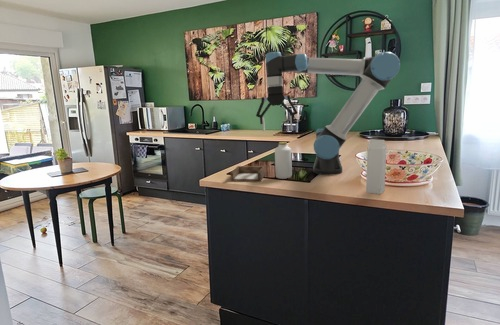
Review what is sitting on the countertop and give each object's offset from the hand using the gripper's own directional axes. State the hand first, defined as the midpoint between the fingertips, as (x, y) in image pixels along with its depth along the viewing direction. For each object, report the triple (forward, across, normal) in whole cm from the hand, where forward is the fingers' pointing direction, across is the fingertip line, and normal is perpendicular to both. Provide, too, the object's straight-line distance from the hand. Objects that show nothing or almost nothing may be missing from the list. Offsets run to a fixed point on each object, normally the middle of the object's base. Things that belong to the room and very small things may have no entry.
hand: (277, 129), depth 156 cm
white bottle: (+25, -2, 0) cm, 25 cm away
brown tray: (+24, +16, 0) cm, 29 cm away
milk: (+26, -41, +24) cm, 54 cm away
